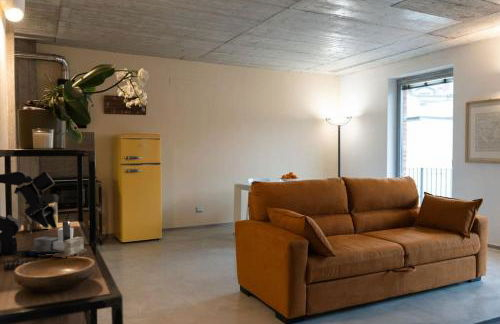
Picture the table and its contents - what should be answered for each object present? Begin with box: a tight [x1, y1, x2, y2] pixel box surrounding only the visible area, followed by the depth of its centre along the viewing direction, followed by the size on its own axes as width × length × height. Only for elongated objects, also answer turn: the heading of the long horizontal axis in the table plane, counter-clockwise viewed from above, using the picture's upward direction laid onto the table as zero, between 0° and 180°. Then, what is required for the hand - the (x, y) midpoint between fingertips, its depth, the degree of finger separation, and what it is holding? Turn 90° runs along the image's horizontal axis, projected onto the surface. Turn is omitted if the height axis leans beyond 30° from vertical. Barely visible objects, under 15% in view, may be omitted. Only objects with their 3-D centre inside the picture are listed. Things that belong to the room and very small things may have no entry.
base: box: [30, 236, 88, 256], centre depth 170 cm, size 21×12×6 cm, turn 75°
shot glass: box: [57, 226, 75, 241], centre depth 190 cm, size 7×7×7 cm
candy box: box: [41, 201, 59, 230], centre depth 229 cm, size 9×4×15 cm, turn 175°
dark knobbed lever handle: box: [51, 220, 71, 250], centre depth 170 cm, size 15×3×11 cm, turn 75°
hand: (51, 227), depth 172 cm, fingers open, 9 cm apart
